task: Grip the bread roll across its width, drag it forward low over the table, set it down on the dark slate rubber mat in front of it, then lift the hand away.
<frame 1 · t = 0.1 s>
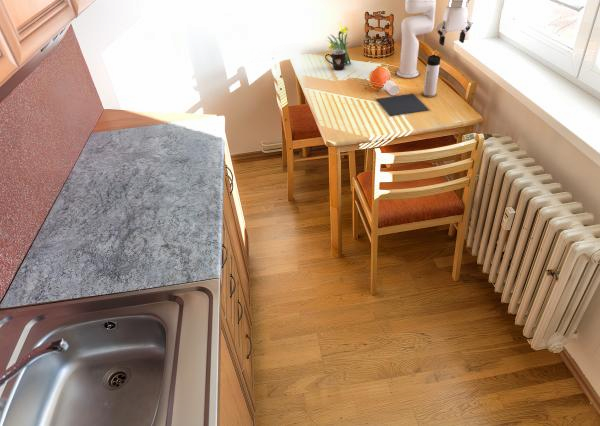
hand: (451, 43, 205), 31 cm above the table, tool pointing down, fingers open, 9 cm apart
daffodil flowers: (342, 57, 288), on the table
coffee mug: (336, 68, 274), on the table
travel mug: (429, 94, 237), on the table
slate mat: (402, 104, 229), on the table
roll: (389, 91, 243), on the table
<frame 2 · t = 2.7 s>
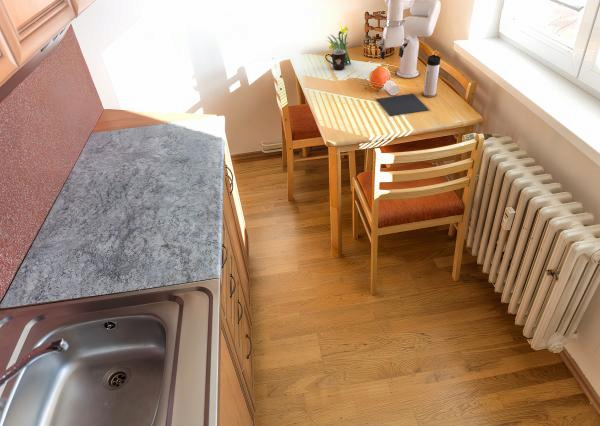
hand: (391, 57, 231), 18 cm above the table, tool pointing down, fingers open, 9 cm apart
nothing on the table moved.
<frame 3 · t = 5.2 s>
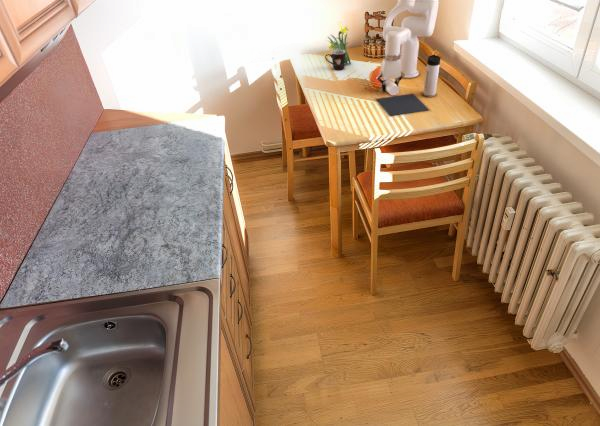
hand: (389, 89, 242), 1 cm above the table, tool pointing down, fingers closed on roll, 6 cm apart
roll: (389, 91, 243), on the table, touching gripper
everything else where it was.
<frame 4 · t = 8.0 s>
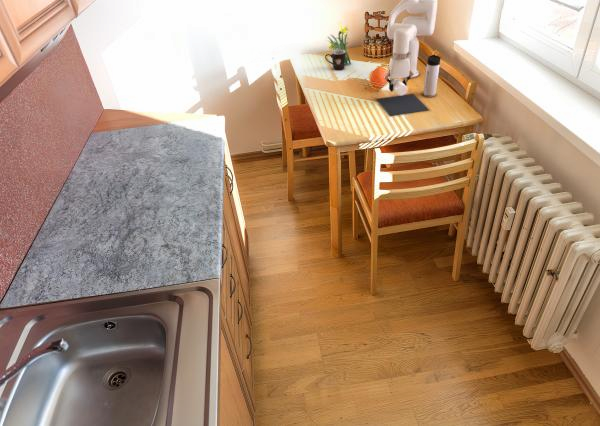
hand: (397, 89, 232), 5 cm above the table, tool pointing down, fingers closed on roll, 6 cm apart
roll: (397, 91, 232), point 4 cm above the table, touching gripper
everything else where it was.
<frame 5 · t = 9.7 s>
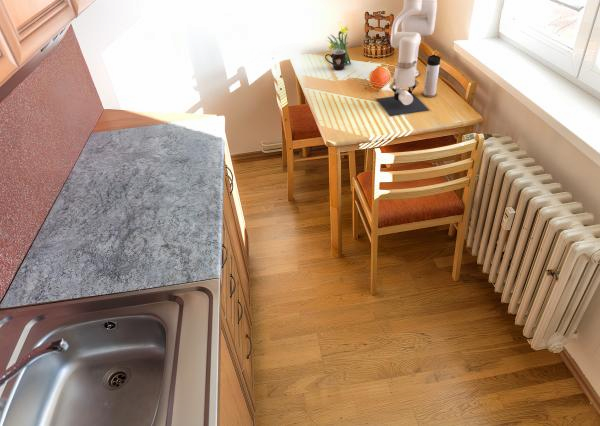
hand: (402, 98, 227), 3 cm above the table, tool pointing down, fingers closed on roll, 6 cm apart
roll: (402, 100, 228), point 2 cm above the table, touching gripper
everything else where it was.
when the fingers open (1 cm above the table, at t = 10.9 s): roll stays where it is, resting on slate mat.
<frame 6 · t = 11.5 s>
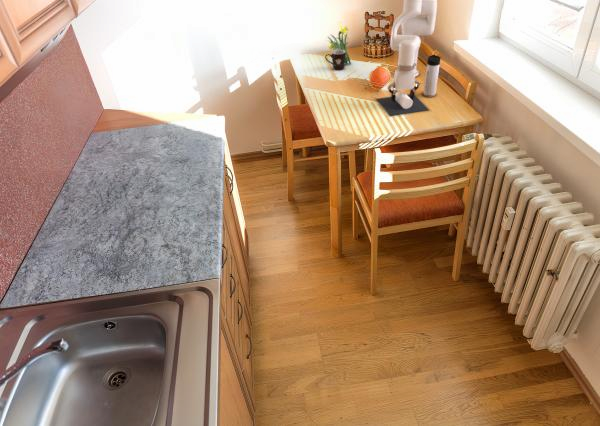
hand: (402, 100, 227), 3 cm above the table, tool pointing down, fingers open, 9 cm apart
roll: (402, 104, 229), resting on slate mat
everything else where it was.
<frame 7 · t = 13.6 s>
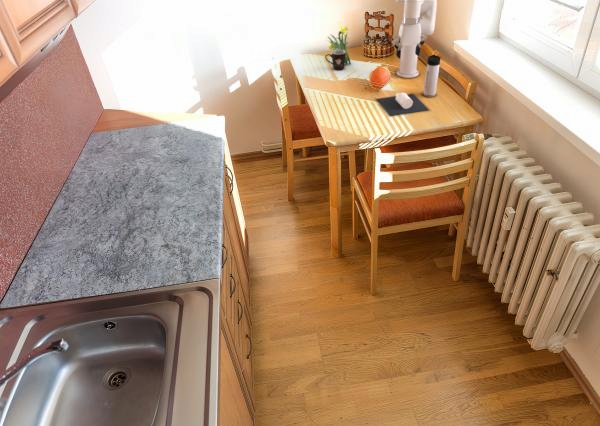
hand: (407, 56, 222), 22 cm above the table, tool pointing down, fingers open, 9 cm apart
nothing on the table moved.
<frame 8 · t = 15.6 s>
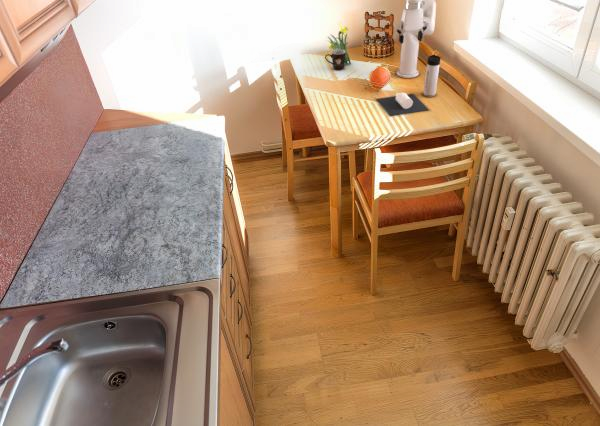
hand: (410, 41, 225), 26 cm above the table, tool pointing down, fingers open, 9 cm apart
nothing on the table moved.
at the end: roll inside the target area (0.1 cm from its centre), resting on slate mat; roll moved 17.9 cm from its start; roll tilted 0° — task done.
